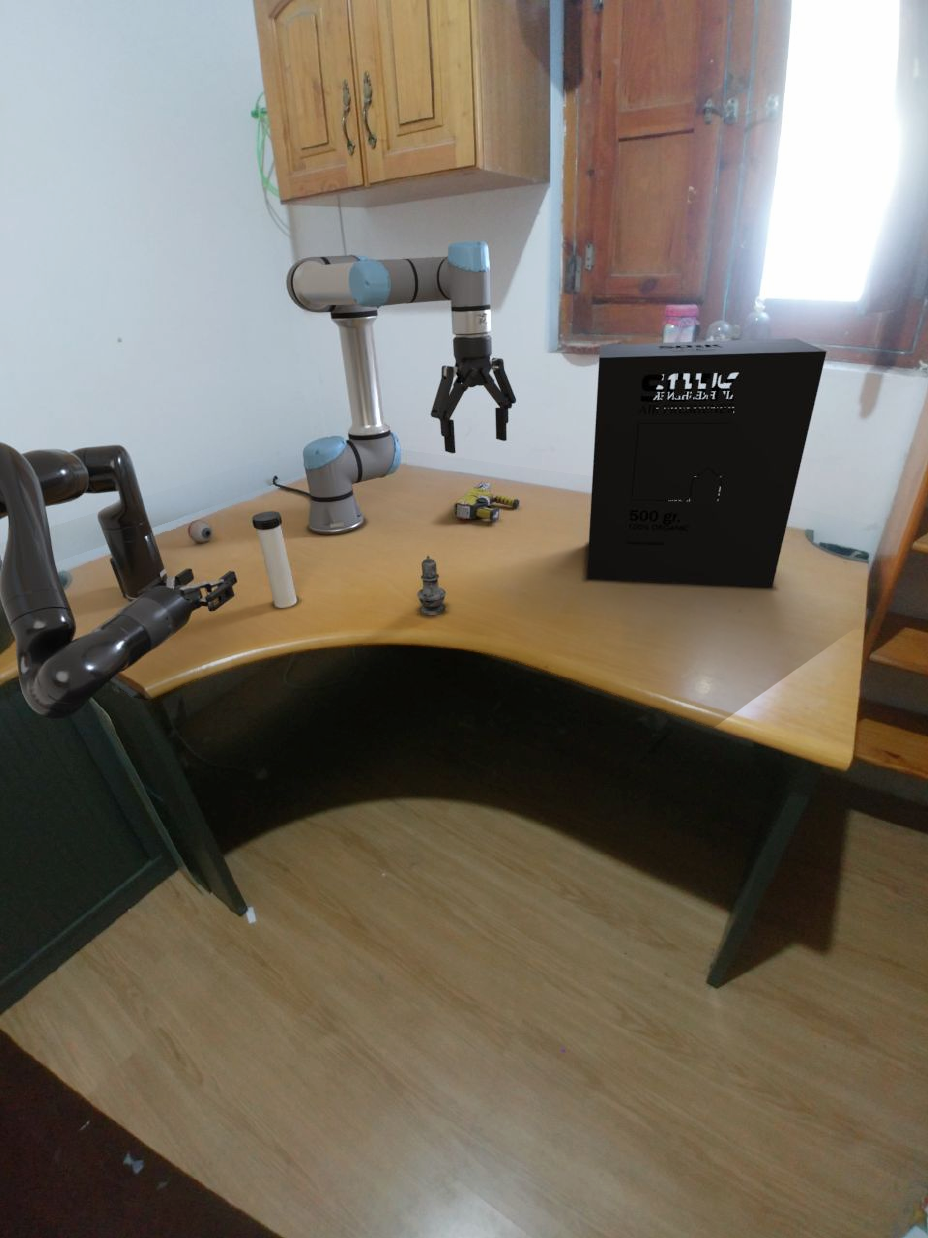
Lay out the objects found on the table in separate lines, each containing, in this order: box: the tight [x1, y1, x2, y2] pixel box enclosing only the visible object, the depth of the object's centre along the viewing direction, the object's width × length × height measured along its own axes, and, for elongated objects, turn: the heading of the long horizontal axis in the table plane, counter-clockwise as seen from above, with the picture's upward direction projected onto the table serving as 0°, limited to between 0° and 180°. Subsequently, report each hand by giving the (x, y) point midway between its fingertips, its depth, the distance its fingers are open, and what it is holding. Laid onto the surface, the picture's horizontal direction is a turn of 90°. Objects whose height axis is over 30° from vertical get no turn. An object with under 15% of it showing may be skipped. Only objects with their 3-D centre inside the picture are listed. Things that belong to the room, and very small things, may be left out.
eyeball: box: [187, 519, 213, 544], centre depth 162 cm, size 6×6×6 cm
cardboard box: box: [586, 338, 828, 589], centre depth 126 cm, size 38×20×45 cm, turn 78°
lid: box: [251, 510, 283, 530], centre depth 121 cm, size 6×6×2 cm
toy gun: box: [453, 481, 520, 524], centre depth 173 cm, size 5×24×15 cm
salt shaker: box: [416, 555, 447, 616], centre depth 121 cm, size 6×6×12 cm
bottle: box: [256, 524, 298, 609], centre depth 125 cm, size 5×5×19 cm
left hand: (212, 574), depth 105 cm, fingers open, 8 cm apart
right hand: (476, 445), depth 127 cm, fingers open, 13 cm apart
